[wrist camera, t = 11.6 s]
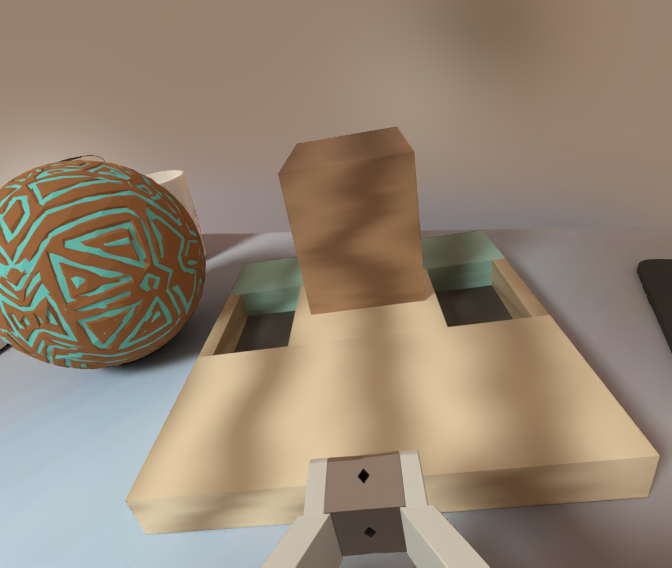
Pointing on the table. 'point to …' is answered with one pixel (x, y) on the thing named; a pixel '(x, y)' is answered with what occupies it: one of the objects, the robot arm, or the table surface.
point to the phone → (659, 291)
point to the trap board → (389, 400)
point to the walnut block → (355, 220)
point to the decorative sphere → (94, 264)
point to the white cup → (178, 191)
